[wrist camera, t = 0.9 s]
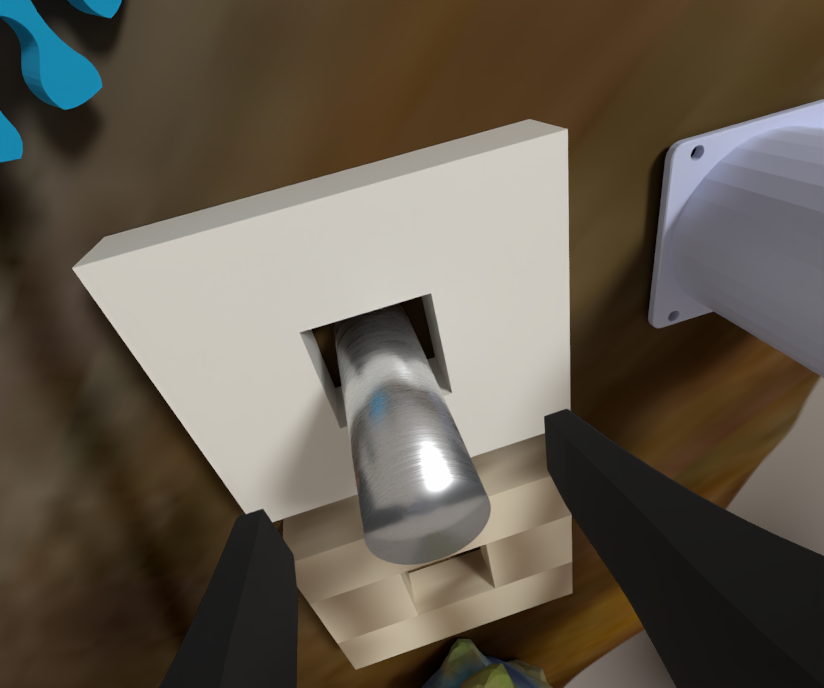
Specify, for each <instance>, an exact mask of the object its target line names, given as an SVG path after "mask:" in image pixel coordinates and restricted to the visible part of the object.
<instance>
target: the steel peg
mask: <svg viewBox="0 0 824 688" xmlns="http://www.w3.org/2000/svg"><path fill="white" fill-rule="evenodd" d="M334 339H335V345H336V352H337V359H338V365H339V372H340V379H341V385H342V392H343V399H344V406H345V412H346V419H347V426H348V432H349V439H350V446H351V452H352V459H353V466H354V472H355V479H356V486H357V492H358V499H359V506H360V513H361V519H362V526H363V533H364V539H365V543H366V546H367V547H368V549H369V550H370V551H371V553H372V554H374V555H375V556H376V557H378V558H380V559H382V560H384V561H387V562H390V563H394V564H402V565H414V564H423V563H428V562H432V561H436V560H439V559H442V558H445V557H447V556H449V555H451V554H454V553H456V552H457V551H459V550H461V549H462V548H464V547H465V546H467V545H468V544H469V543H471V542H472V541H473V540H474V539H475V538H476V537H477V536H478V535H479V534H480V533H481V532H482V531H483V529H484V528H485V526H486V524H487V522H488V520H489V517H490V512H491V504H490V500H489V498H488V495H487V493H486V491H485V489H484V487H483V484H482V482H481V480H480V478H479V475H478V473H477V471H476V469H475V466H474V464H473V462H472V460H471V457H470V455H469V453H468V451H467V448H466V446H465V444H464V442H463V439H462V437H461V435H460V433H459V430H458V428H457V426H456V424H455V421H454V419H453V417H452V415H451V412H450V410H449V408H448V406H447V403H446V401H445V399H444V397H443V394H442V392H441V390H440V388H439V385H438V383H437V381H436V379H435V376H434V374H433V372H432V370H431V367H430V365H429V363H428V361H427V358H426V356H425V354H424V352H423V349H422V347H421V345H420V343H419V340H418V338H417V336H416V334H415V331H414V329H413V327H412V325H411V322H410V320H409V318H408V316H407V314H406V312H405V310H404V309H403V307H402V306H401V305H400V304H399V303H397V304H393V305H390V306H387V307H383V308H380V309H377V310H373V311H370V312H367V313H363V314H360V315H357V316H353V317H350V318H347V319H343V320H340V321H337V322H335V324H334Z"/></svg>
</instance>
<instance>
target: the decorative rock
mask: <svg viewBox="0 0 824 688" xmlns="http://www.w3.org/2000/svg"><path fill="white" fill-rule="evenodd" d="M422 688H552V687H551V686H550V685H548V683H547V682H546V679H545V675H544V672H543V668H540V667H538V666H534V665H532V666H529V665H528V664H527V663H526V662H524V661H521V660H517V659H513V660H509V661H508V662H504V661H501V660H499V659H497V658H494V657H491V656H484V655H483V654H482V653H481V652H480V651H479V650H478V649H477V647H476V646H475V645H474V643H473V642H472V641H471V639H460V638H457V641H456V642H455V643H454V644H453V645H452V647H451V650H450V652H449V654H448V655H447V657H446V658H445V660H444V662H443V663H442V665H441V667H440V668H439V669H438V671H437V672H436V673H434V674H433V675H432V676H431V677H430V678H429V679H428V681H427V682H426V683H425V684H424V685H423V687H422Z"/></svg>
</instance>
